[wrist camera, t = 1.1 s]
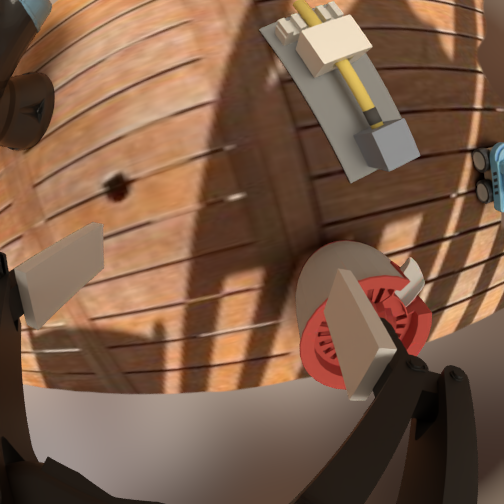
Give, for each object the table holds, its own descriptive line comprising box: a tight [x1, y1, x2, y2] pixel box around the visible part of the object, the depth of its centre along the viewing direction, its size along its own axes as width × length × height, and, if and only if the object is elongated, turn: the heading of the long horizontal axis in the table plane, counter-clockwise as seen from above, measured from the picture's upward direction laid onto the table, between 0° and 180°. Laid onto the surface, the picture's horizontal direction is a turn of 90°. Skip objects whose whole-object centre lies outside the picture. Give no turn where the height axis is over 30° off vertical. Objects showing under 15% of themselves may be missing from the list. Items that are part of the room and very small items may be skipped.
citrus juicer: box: [295, 240, 432, 390], centre depth 34 cm, size 16×17×20 cm
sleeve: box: [295, 15, 372, 78], centre depth 28 cm, size 5×7×7 cm
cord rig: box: [259, 0, 420, 183], centre depth 29 cm, size 26×12×8 cm, turn 30°
